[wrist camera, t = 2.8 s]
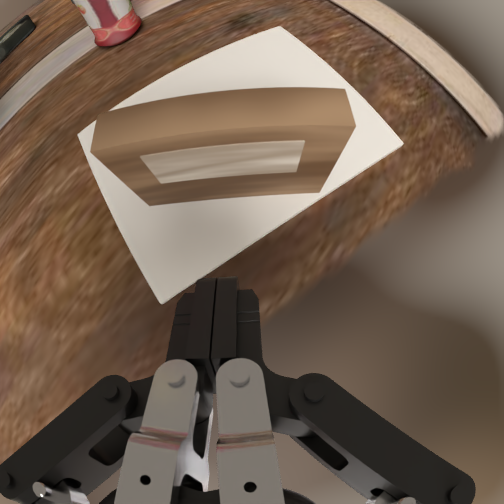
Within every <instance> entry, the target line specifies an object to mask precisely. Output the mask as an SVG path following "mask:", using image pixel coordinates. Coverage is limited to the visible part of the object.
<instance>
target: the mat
mask: <svg viewBox="0 0 504 504" xmlns="http://www.w3.org/2000/svg"><path fill="white" fill-rule="evenodd" d="M274 87H318V88H340V89H345V90H346V93H347V96H348V100H349V103H350V106H351V110H352V113H353V117H354V120H355V124H356V128H355V129H354V131H353V133H352V135H351V137H350V139H349V141H348V142H347V144H346V146H345V148H344V150H343V152H342V153H341V155H340V157H339V159H338V161H337V162H336V164H335V166H334V168H333V170H332V171H331V173H330V175H329V177H328V179H327V180H326V182H325V184H324V186H323V188H322V189H321V191H320V193H304V194H284V195H267V196H252V197H238V198H226V199H214V200H203V201H193V202H183V203H173V204H164V205H155V206H149V205H148V204H146V203H145V202H144V201H143V200H142V199H141V198H140V197H139V196H137V195H136V194H135V193H134V192H133V191H132V190H131V189H130V188H129V187H127V186H126V185H125V184H124V183H123V182H122V181H121V180H120V179H119V178H118V177H116V176H115V175H114V174H113V173H112V172H111V171H110V170H109V169H108V168H107V167H106V166H105V165H103V164H102V163H101V162H100V161H99V160H98V159H97V158H96V157H95V156H94V155H93V154H92V153H91V152H90V150H91V144H92V139H93V134H94V129H95V124H96V121H94V122H93V123H92V124H90V125H89V126H88V127H86V128H85V129H84V130H82V131H81V132H80V133H79V134H77V135H78V137H79V140H80V142H81V145H82V148H83V150H84V153H85V155H86V157H87V160H88V162H89V165H90V167H91V169H92V172H93V174H94V176H95V179H96V181H97V183H98V186H99V188H100V190H101V192H102V194H103V197H104V199H105V201H106V203H107V205H108V207H109V209H110V212H111V214H112V216H113V218H114V220H115V222H116V224H117V226H118V228H119V230H120V232H121V234H122V236H123V238H124V240H125V242H126V244H127V245H128V247H129V249H130V251H131V253H132V255H133V257H134V259H135V260H136V262H137V264H138V266H139V268H140V270H141V271H142V273H143V275H144V277H145V278H146V280H147V282H148V284H149V285H150V287H151V289H152V291H153V292H154V294H155V296H156V297H157V299H158V301H159V302H160V304H164V303H165V302H167V301H168V300H170V299H171V298H173V297H174V296H175V295H177V294H178V293H180V292H181V291H183V290H184V289H186V288H187V287H189V286H190V285H192V284H193V283H195V282H196V281H197V279H201V278H202V277H204V276H205V275H207V274H208V273H210V272H211V271H213V270H214V269H216V268H217V267H219V266H220V265H222V264H223V263H225V262H226V261H228V260H229V259H231V258H232V257H234V256H235V255H237V254H238V253H240V252H241V251H243V250H244V249H246V248H247V247H249V246H250V245H252V244H253V243H255V242H256V241H258V240H259V239H261V238H262V237H264V236H265V235H267V234H268V233H270V232H271V231H273V230H274V229H276V228H277V227H279V226H280V225H282V224H284V223H285V222H287V221H288V220H290V219H291V218H293V217H294V216H296V215H297V214H299V213H300V212H302V211H303V210H305V209H306V208H308V207H309V206H311V205H312V204H314V203H315V202H317V201H318V200H320V199H321V198H323V197H324V196H326V195H327V194H329V193H331V192H332V191H334V190H335V189H337V188H338V187H340V186H341V185H343V184H344V183H346V182H347V181H349V180H350V179H352V178H353V177H355V176H356V175H358V174H360V173H361V172H363V171H364V170H366V169H367V168H369V167H370V166H372V165H373V164H375V163H376V162H378V161H379V160H381V159H383V158H384V157H386V156H387V155H389V154H390V153H392V152H393V151H395V150H396V149H398V148H399V147H401V146H402V145H403V144H404V143H403V142H402V141H401V140H400V138H399V137H398V136H397V135H396V134H395V132H394V131H393V130H392V129H391V128H390V127H389V126H388V124H387V123H386V122H385V121H384V120H383V119H382V118H381V116H380V115H379V114H378V113H377V112H376V111H375V110H374V109H373V108H372V107H371V106H370V105H369V104H368V103H367V101H366V100H365V99H364V98H363V97H362V96H361V95H360V94H359V93H358V92H357V91H356V90H355V89H354V88H353V87H352V86H351V85H350V84H349V83H348V82H346V81H345V80H344V79H343V78H342V77H341V76H340V75H339V74H338V73H337V72H336V71H335V70H334V69H332V68H331V67H330V66H329V65H328V64H327V63H326V62H325V61H323V60H322V59H321V58H320V57H319V56H318V55H316V54H315V53H314V52H313V51H312V50H310V49H309V48H308V47H307V46H305V45H304V44H303V43H302V42H300V41H299V40H298V39H297V38H295V37H294V36H293V35H291V34H290V33H289V32H287V31H286V30H285V29H283V28H282V27H281V26H278V27H275V28H272V29H269V30H266V31H263V32H261V33H258V34H255V35H252V36H250V37H247V38H244V39H242V40H239V41H237V42H234V43H232V44H229V45H227V46H225V47H222V48H220V49H218V50H215V51H213V52H211V53H209V54H207V55H205V56H202V57H200V58H198V59H196V60H194V61H192V62H190V63H188V64H186V65H184V66H182V67H180V68H178V69H176V70H175V71H173V72H171V73H169V74H167V75H165V76H164V77H162V78H160V79H158V80H157V81H155V82H153V83H151V84H150V85H148V86H146V87H145V88H143V89H141V90H140V91H138V92H137V93H135V94H133V95H132V96H130V97H129V98H127V99H126V100H124V101H123V102H121V103H120V104H118V105H117V106H115V107H114V108H112V109H111V110H115V109H119V108H123V107H127V106H132V105H136V104H141V103H146V102H150V101H156V100H161V99H166V98H172V97H178V96H185V95H192V94H199V93H207V92H216V91H226V90H237V89H251V88H274ZM111 110H109V111H111Z"/></svg>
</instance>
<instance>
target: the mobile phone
mask: <svg viewBox="0 0 504 504" xmlns="http://www.w3.org/2000/svg"><path fill="white" fill-rule="evenodd" d="M35 27H36V26H35V25H34V23H33V22H32V20H31V19H30V17H29V16H28V15H26V16H24V17H23V18H22V19H20V20H19V21H18V22H17V23H16V24H15V25H13V26H12V27H11V28H10V29H9V30H8V31H7V32H5V33H4V34H3V35H2V36H1V37H0V63H1V62H2V61H3V60H4V59H5V58H6V57H7V56H8V55H9V54H10V53H11V52H12V51H13V50H14V49H15V48H16V47H17V46H18V45H19V44H20V43H21V42H22V41H23V40H24V39H25V38H26V37H28V36H29V35H30V34H31V33H32V32H33V30H34V29H35Z"/></svg>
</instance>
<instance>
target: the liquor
mask: <svg viewBox="0 0 504 504" xmlns="http://www.w3.org/2000/svg"><path fill="white" fill-rule="evenodd" d="M73 1H74V3H75V4H76V6H77V8H78V9H79V11H80V12H81V14H82V16H83V17H84V19H85V20H86V22H87V24H88V25H89V27H90V28H91V30H92V32H93V33H94V35H95V44H96V45H98V46H116V45H119V44H121V43H123V42H125V41H127V40H128V39H130V38H131V37H132V36H133V35H134V33H135V32H136V30H137V29H138V28H139V26H140V24H141V18H140V17H138V16H137V15H135V12H134V9H133V6H132V4H131V1H130V0H73Z"/></svg>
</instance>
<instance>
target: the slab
mask: <svg viewBox="0 0 504 504" xmlns="http://www.w3.org/2000/svg"><path fill="white" fill-rule="evenodd" d="M355 128H356V124H355V120H354V117H353V113H352V110H351V106H350V103H349V100H348V96H347V93H346V90H345V89H340V88H318V87H274V88H251V89H237V90H226V91H216V92H207V93H199V94H192V95H185V96H178V97H172V98H166V99H161V100H156V101H150V102H146V103H141V104H136V105H132V106H127V107H123V108H119V109H115V110H111V111H107V112H104V113H100V114H98V115H97V120H96V124H95V129H94V134H93V139H92V144H91V150H90V152H91V153H92V154H93V155H94V156H95V157H96V158H97V159H98V160H99V161H100V162H101V163H102V164H103V165H105V166H106V167H107V168H108V169H109V170H110V171H111V172H112V173H113V174H114V175H115V176H116V177H118V178H119V179H120V180H121V181H122V182H123V183H124V184H125V185H126V186H127V187H129V188H130V189H131V190H132V191H133V192H134V193H135V194H136V195H137V196H139V197H140V198H141V199H142V200H143V201H144V202H145V203H146V204H148V205H149V206H155V205H164V204H173V203H183V202H193V201H203V200H214V199H226V198H238V197H252V196H267V195H284V194H304V193H320V191H321V189H322V188H323V186H324V184H325V182H326V180H327V179H328V177H329V175H330V173H331V171H332V170H333V168H334V166H335V164H336V162H337V161H338V159H339V157H340V155H341V153H342V152H343V150H344V148H345V146H346V144H347V142H348V141H349V139H350V137H351V135H352V133H353V131H354V129H355Z"/></svg>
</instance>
